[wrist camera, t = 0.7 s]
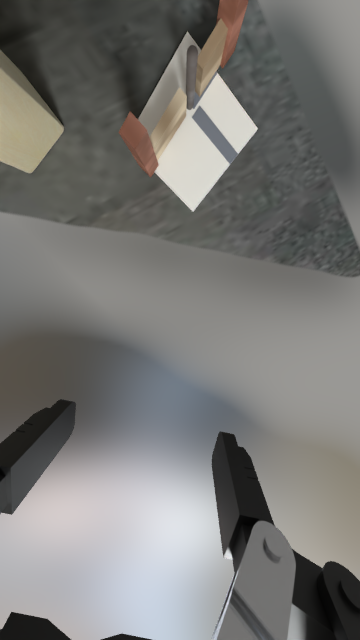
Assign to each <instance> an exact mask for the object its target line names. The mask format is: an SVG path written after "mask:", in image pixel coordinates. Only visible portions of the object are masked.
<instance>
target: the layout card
mask: <svg viewBox="0 0 360 640" xmlns="http://www.w3.org/2000/svg"><path fill="white" fill-rule="evenodd" d="M191 45H194V46H196V48H197V50H198V55H199V53H200V52H201V49H200V48H199V47H198V45H197V44H196V42H195V41H194V40H193V38H192V37H191V36H190V34H189V33H188V31H187V33H186V35H185V36H184V38H183V40H182V42H181V44H180V45H179V47H178V49H177V51H176V52H175V54H174V56H173V58H172V60H171V61H170V63H169V65H168V67H167V68H166V70H165V72H164V74H163V76H162V77H161V79H160V81H159V83H158V84H157V86H156V88H155V90H154V92H153V93H152V95H151V97H150V99H149V100H148V102H147V104H146V106H145V108H144V109H143V111H142V113H141V115H140V116H139V118H138V120H139V122H140V123H141V124H142V125H143V126H144V127H145V128H146V129H147V132H148V134H149V137H150V135H151V134H152V132H153V130H154V129H155V127H156V125H157V124H158V122H159V120H160V119H161V117H162V115H163V114H164V112H165V110H166V109H167V107H168V105H169V104H170V102H171V100H172V99H173V97H174V95H175V94H176V92H177V90H178V89H179V87H180V88H181V89H182V91H183V92H184V93H185V94H186V61H187V49H188V48H189V46H191ZM257 129H258V128H257V127H256V125H255V124H254V123H253V121H252V120H251V119H250V117H249V116H248V114H247V113H246V112H245V110H244V109H243V107H242V106H241V105H240V103H239V102H238V101H237V99H236V98H235V96H234V95H233V94H232V92H231V91H230V89H229V88H228V87H227V85H226V84H225V83H224V81H223V80H222V78H221V77H220V76H219V74H218V72H217V71H216V72H215V74H214V75H213V77H212V79H211V80H210V82H209V83H208V85H207V86H206V88H205V89H204V91H203V92H202V94H201V96H200V97H199V96H198V94H197V93H196V92H195V96H194V106H193V108H192V109H191V110H188V109H187V108H186V117H185V119H184V121H183V122H182V124H181V125H180V127H179V128H178V130H177V131H176V133H175V135H174V136H173V138H172V139H171V141H170V142H169V144H168V145H167V147H166V149H165V150H164V152H163V153H162V155H161V156H160V158H159V159H158V164H159V166H158V167H157V169H156V170H155V173H156V174H157V175H158V176H159V177H160V178H161V179H162V180H163V181H164V182H165V183H166V184H167V185H168V187H169V188H170V189H171V190H172V191H173V192H174V193H175V194H176V195H177V196H178V197H179V198H180V199H181V200H182V201H183V202H184V203H185V204H186V205H187V206H188V207H189V208H190V209H191V210H192V211H194V210H195V209H196V207H197V206H198V205H199V204H200V202H201V201H202V200H203V198H204V197H205V196H206V195H207V193H208V192H209V191H210V189H211V188H212V187H213V186H214V184H215V183H216V182H217V181H218V179H219V178H220V177H221V175H222V174H223V173H224V172H225V170H226V169H227V168H228V166H229V165H230V164H231V163H232V161H233V160H234V159H235V157H236V156H237V155H238V154H239V152H240V151H241V150H242V149H243V147H244V146H245V145H246V143H247V142H248V141H249V140H250V138H251V137H252V136H253V134H254V133H255V132H256V131H257Z"/></svg>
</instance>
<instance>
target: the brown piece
mask: <svg viewBox="0 0 360 640" xmlns="http://www.w3.org/2000/svg"><path fill="white" fill-rule="evenodd" d="M247 4H248V0H220V2H219V9H218V15H217V21H216V27H215V28H214V30H213V32H212V33H211V35H210V37H209V38H208V40H207V42H206V43H205V45H204V47H203V48H202V50H201V52H200V53H199V55H198V50H197V48H196V46H194V45H191V46H189V48H188V49H187V61H186V96H187V106H186V108H187V109H188V110H191V109H192V108H193V106H194V96H195V92H196V93H197V94H198V96H199V97H200V96H201V94H202V92H203V91H204V89H205V88H206V86H207V85H208V83H209V82H210V80H211V79H212V77H213V75H214V74H215V72H216V71H217V69H218V68H219V66H221V67H222V69H223V67H224V66H225V64H226V63H227V61H228V60H229V58H230V57H231V55H232V54H233V52H234V50H235V47H236V43H237V40H238V36H239V32H240V29H241V25H242V22H243V18H244V14H245V11H246V7H247Z"/></svg>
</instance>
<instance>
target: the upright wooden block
mask: <svg viewBox="0 0 360 640" xmlns="http://www.w3.org/2000/svg"><path fill="white" fill-rule="evenodd" d="M63 131H64V126H63V125H62V124H61V122H60V121H59V120H58V118H57V117H56V116H55V115H54V113H53V112H52V111H51V109H50V108H49V107H48V105H47V104H46V103H45V102H44V100H43V99H42V98H41V96H40V95H39V94H38V92H37V91H36V90H35V89H34V87H33V86H32V85H31V83H30V82H29V81H28V80H27V78H26V77H25V76H24V74H23V73H22V72H21V71H20V70H19V69H18V68H17V67H16V66H15V64H14V63H13V62H12V61H11V60H10V59H9V58H8V57H7V56H6V55H5V54H4V53H3V52H2V51H1V50H0V161H1V162H4V163H6V164H9V165H11V166H13V167H16V168H18V169H20V170H23V171H25V172H27V173H32V172H33V171H34V170H35V169H36V167H37V166H38V165H39V163H40V162H41V161H42V159H43V158H44V157H45V155H46V154H47V153H48V151H49V150H50V149H51V147H52V146H53V145H54V143H55V142H56V141H57V140H58V138H59V137H60V136H61V134H62V133H63Z"/></svg>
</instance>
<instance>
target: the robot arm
mask: <svg viewBox="0 0 360 640" xmlns="http://www.w3.org/2000/svg"><path fill="white" fill-rule="evenodd" d="M75 410H76V403H75V402H73V401H67V400H62V399H60V400H58V401H57V402H56V404H54V405H53V406H52V407H51V408H44V409H42V410H40V411H39V412H37V413H35V414H33V415H32V416H31V417H30V418H29V419H28V420H27V421H25V422H24V424H22V425H21V426H20V427H19V428H17V429H16V431H15V432H13V433H12V434H11V435H10V436H9V437H7V438H6V439H5V440H4V441H3V442H2V443H0V513H7V514H13V513H14V511H15V510H16V508H17V507H18V506H19V504H20V503H21V502H22V500H23V499H24V498H25V496H26V495H27V493H28V492H29V491H30V490H31V488H32V487H33V486H34V484H35V483H36V482H37V480H38V479H39V478H40V476H41V475H42V474H43V472H44V471H45V469H46V468H47V467H48V465H49V464H50V463H51V461H52V460H53V459H54V457H55V456H56V455H57V453H58V452H59V451H60V449H61V448H62V447H63V445H64V444H65V443H66V441H67V440H68V439H69V437H70V435H71V434H72V431H73V429H74V424H75ZM212 471H213V479H214V487H215V494H216V502H217V510H218V518H219V526H220V534H221V541H222V549H223V557H224V558H226V559H232V560H233V566H234V572H235V573H234V576H233V578H232V581H231V584H230V587H229V590H228V593H227V595H226V598H225V601H224V604H223V607H222V610H221V613H220V616H219V618H218V622H217V624H216V627H215V630H214V633H213V636H212V639H211V640H360V581H359V580H358V579H357V578H356V577H355V576H354V575H353V574H352V573H351V572H350V571H349V570H348V569H346V568H345V567H344V566H342V565H340V564H339V563H336V562H332V561H330V562H327V563H326V564H325V565H324V567H323V568H321V567H319V566H318V565H316V564H315V563H313V562H311V561H310V560H308V559H306V558H305V557H303V556H301V555H300V554H298V553H297V552H295V551H294V550H293V549H292V548H291V546H290V544H289V543H288V541H287V539H286V538H285V536H284V535H283V534H282V533H281V531H280V530H279V529H277V528H276V527H275V525H274V523H273V520H272V517H271V514H270V511H269V509H268V506H267V503H266V500H265V497H264V494H263V492H262V489H261V486H260V483H259V481H258V477H257V474H256V472H255V469H254V466H253V463H252V460H251V457H250V456H249V455H248V453H247V452H246V450H245V449H244V448H243V447H239V446H238V445H237V442H236V438H235V435H234V434H230V433H225V432H219V434H218V437H217V441H216V444H215V448H214V451H213V455H212ZM0 640H71V639H70V638H68V637H67V636H66V635H65V634H64V633H63V632H62V631H60V630H59V629H58V628H57V627H56V626H55V625H53V624H52V623H51V622H50V621H49V620H48V619H44V618H40V617H34V616H29V615H24V614H19V613H14V612H11V614H10V616H9V618H8V619H7V621H6V623H5V625H4V627H3V629H0ZM102 640H151V639H146V638H141V637H136V636H131V635H126V634H119V635H116V636H112V637H108V638H105V639H102Z"/></svg>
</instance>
